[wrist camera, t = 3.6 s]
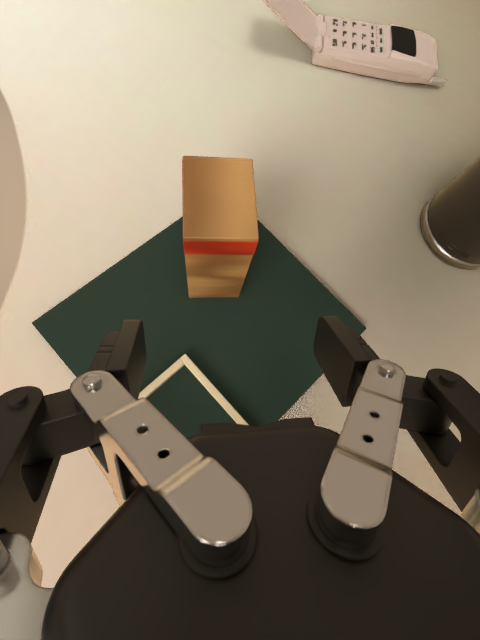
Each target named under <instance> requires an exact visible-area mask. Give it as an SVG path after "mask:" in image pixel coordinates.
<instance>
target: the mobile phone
mask: <svg viewBox="0 0 480 640" xmlns="http://www.w3.org/2000/svg"><path fill="white" fill-rule="evenodd" d="M262 1H263V2H264V3H265V4H266V5H267V6H268V7H269V8H270V9H271V10H272V11H273V12H274V13H275V14H276V15H277V16H278V17H279V18H280V19H281V20H282V21H283V22H284V23H285V24H286V25H287V26H288V27H289V28H290V29H291V30H292V31H293V32H294V33H295V34H296V35H298V36H299V37H300V38H301V39H302V40H303V41H304V42H305V43H306V44H307V45H308V46H309V47H310V48H311V49H312V63H313V64H314V65H318V66H323V67H327V68H332V69H336V70H341V71H346V72H350V73H355V74H360V75H365V76H370V77H375V78H381V79H386V80H391V81H396V82H404V83H423V84H428V85H438V86H444V84H445V83H446V79H444V78H441V77H437V76H434V75H435V73H436V72H437V70H438V58H437V47H436V40H435V39H434V38H433V37H432V36H429V35H427V34H425V33H423V32H420V31H417V30H414V29H411V28H408V27H404V26H399V25H394V24H389V25H388V26H384V25H379V24H373V23H367V22H361V21H355V20H350V19H344V18H338V17H333V16H327V15H325V16H323V14H319V15H318V16H316V15H315V14H314V13H313V12H312V11H311V9H310V8H309V7H308V6H307V5H306V4H305V3H304V2H303V1H302V0H262Z"/></svg>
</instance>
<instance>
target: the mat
mask: <svg viewBox="0 0 480 640" xmlns="http://www.w3.org/2000/svg"><path fill="white" fill-rule="evenodd" d="M257 223H258V235H259V239H258V244H257V247H256V250H255V253H254V255H253V257H252V260H251V263H250V266H249V269H248V271H247V274H246V277H245V280H244V283H243V286H242V289H241V292H240V295H239V297H214V298H189V294H188V284H187V273H186V262H185V254H184V247H183V217H182V218H180V219H179V220H177V221H176V222H174V223H173V224H172V225H170V226H169V227H167V228H166V229H165V230H163V231H162V232H160V233H159V234H157V235H156V236H155V237H153V238H152V239H150V240H149V241H147V242H146V243H145V244H143V245H142V246H140V247H139V248H138V249H136V250H135V251H133V252H132V253H130V254H129V255H128V256H126V257H125V258H123V259H122V260H120V261H119V262H118V263H116V264H115V265H113V266H112V267H110V268H109V269H108V270H106V271H105V272H103V273H102V274H101V275H99V276H98V277H96V278H95V279H93V280H92V281H91V282H89V283H88V284H86V285H85V286H83V287H82V288H81V289H79V290H78V291H76V292H75V293H74V294H72V295H71V296H69V297H68V298H66V299H65V300H64V301H62V302H61V303H59V304H58V305H56V306H55V307H54V308H52V309H51V310H49V311H48V312H47V313H45V314H44V315H42V316H41V317H39V318H38V319H37V320H35V321H34V322H32V324H33V325H34V326H35V328H36V329H37V330H38V331H39V332H40V334H41V335H42V336H43V337H44V338H45V340H46V341H47V342H48V343H49V344H50V346H51V347H52V348H53V349H54V350H55V352H56V353H57V354H58V355H59V357H60V358H61V359H62V360H63V361H64V363H65V364H66V365H67V366H68V367H69V369H70V370H71V371H72V372H73V373H74V375H75V376H76V377H79V376H80V375H82V374H84V373H87V372H88V370H89V368H90V366H91V364H92V361H93V359H94V357H95V355H96V353H97V351H98V348H99V347H100V344H101V342H102V340H103V338H104V337H105V336H106V335H108V334H109V333H110V332H112V331H120V328H121V326H122V323H123V321H124V320H142V321H143V328H144V336H145V345H146V365H145V369H144V374H143V379H142V383H141V388H140V393H139V397H138V399H140V398H142V397H144V398H146V399H147V400H148V401H149V402H150V403H151V404H152V405H153V406H154V407H155V408H156V409H157V410H158V411H159V412H160V413H161V414H162V415H163V416H164V417H165V418H166V419H167V420H168V421H169V422H170V423H171V424H172V425H173V426H174V427H175V428H176V429H177V430H178V431H179V432H180V433H181V434H182V435H183V436H184V437H185V438H186V439H187V438H189V437H191V436H194V435H197V434H200V433H201V424H214V423H236V424H243V425H250V426H263V425H266V424H270V423H273V422H276V421H278V420H279V419H280V418H281V417H282V416H283V415H284V414H285V413H286V411H287V410H288V409H289V408H290V407H291V406H292V405H293V404H294V403H295V402H296V401H297V400H298V399H299V398H300V397H301V396H302V395H303V394H304V393H305V392H306V391H307V390H308V389H309V388H310V387H311V385H312V384H313V383H314V382H315V381H316V380H317V379H318V378H319V377H320V376H321V375H322V374H323V371H322V369H321V367H320V366H319V364H318V362H317V360H316V358H315V356H314V351H313V345H314V340H315V334H316V329H317V324H318V319H319V318H320V317H321V316H337V317H338V318H339V319H340V320H341V322H342V323H343V324H344V325H345V326H348V327H350V328H352V329H353V330H355V331H357V332H358V334H359V335H360V334H361V333H362V332H363V331H364V330H365V329H366V327H365V326H364V325H363V324H362V323H361V322H360V321H359V320H358V319H357V318H356V317H355V316H354V315H353V314H352V313H351V312H350V311H349V310H348V309H347V308H346V307H345V306H344V305H343V304H342V303H341V302H340V301H339V300H338V299H337V298H336V297H335V296H334V295H333V294H332V293H331V292H330V291H329V290H328V289H327V288H326V287H325V286H324V285H323V284H322V283H321V282H320V281H319V280H318V279H317V278H316V277H315V276H314V275H313V274H312V273H311V272H310V271H309V270H308V269H307V268H306V267H305V266H304V265H302V264H301V263H300V262H299V261H298V260H297V259H296V258H295V257H294V256H293V255H292V254H291V253H290V252H289V251H288V250H287V249H286V248H285V247H284V246H283V245H282V244H281V243H280V242H279V241H278V240H277V239H276V238H275V237H274V236H273V235H272V234H271V233H270V232H269V231H268V230H267V229H266V228H265V227H264V226H263V225H262V224H261V223H260V222H259V221H258V220H257Z"/></svg>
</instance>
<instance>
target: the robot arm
mask: <svg viewBox="0 0 480 640" xmlns="http://www.w3.org/2000/svg"><path fill="white" fill-rule="evenodd" d="M420 225H421V230H422V234H423V236H424V238H425V240H426V242H427V244H428V245H429V247H430V248H431V249H432V250H433V252H434V253H435V254H436V255H438V256H439V257H440V258H441V259H443V260H444V261H446V262H447V263H449V264H451V265H453V266H456V267H459V268H463V269H479V268H480V156H479V157H478V158H477V159H475V160H474V161H473V162H472V163H471V164H470V165H469V166H468V167H467V168H466V169H465V170H463V171H462V172H461V173H460V174H459V175H458V176H457V177H456V178H455V179H453V180H452V181H451V182H450V183H449V184H448V185H447V186H446V187H445V188H444V189H443V190H442V191H440V192H439V193H437V194H436V195H435V196H434V197H432V198H431V199H430V200H429V201H428V202H427V203H426V205H425V206H424V208H423V210H422V212H421V217H420ZM313 351H314V356H315V358H316V360H317V362H318V364H319V366H320V367H321V369H322V371H323V373H324V374H325V376H326V378H327V380H328V382H329V383H330V385H331V387H332V389H333V390H334V392H335V394H336V396H337V398H338V399H339V401H340V403H341V405H342V406H343V407H347V406H351V408H350V410H349V413H348V415H347V418H346V421H345V423H344V426H343V429H342V431H341V434H338V433H336V432H334V431H332V430H329V429H326V428H323V427H319V426H315V425H314V422H313V420H312V418H311V417H308V418H292V419H283V420H280V421H276V422H273V423H270V424H266V425H263V426H250V425H243V424H236V423H214V424H201V433H200V434H197V435H194V436H191V437H189V438H187V439H186V438H185V437H184V436H183V435H182V434H181V433H180V432H179V431H178V430H177V429H176V428H175V427H174V426H173V425H172V424H171V423H170V422H169V421H168V420H167V419H166V418H165V417H164V416H163V415H162V414H161V413H160V412H159V411H158V410H157V409H156V408H155V407H154V406H153V405H152V404H151V403H150V402H149V401H148V400H147V399H146V398H144V397H142V398H140V399H138V397H139V393H140V388H141V383H142V379H143V374H144V369H145V365H146V345H145V336H144V328H143V321H142V320H124V321H123V323H122V326H121V328H120V331H112V332H110V333H109V334H108V335H106V336H105V337H104V338H103V340H102V342H101V344H100V347H99V348H98V351H97V353H96V355H95V357H94V359H93V361H92V364H91V366H90V368H89V370H88V372H87V373H84V374H82V375H80V376H79V377H77V378H76V379H75V380H74V381H73V382H72V383H71V386H70V389H68V390H65V391H62V392H58V393H54V394H50V395H46V396H43V393H42V391H41V390H40V389H39V388H37V387H32V386H26V387H20V388H16V389H13V390H10V391H8V392H6V393H4V394H3V395H1V396H0V640H480V394H479V393H478V392H477V391H476V390H475V389H474V388H473V387H472V386H471V385H470V384H469V383H468V382H467V381H466V380H465V379H464V378H462V377H461V376H459V375H458V374H456V373H454V372H451V371H448V370H444V369H431V370H429V371H428V373H427V375H426V378H420V377H414V376H408V375H406V373H405V371H404V370H403V369H402V368H401V367H400V366H399V365H397V364H395V363H393V362H390V361H387V360H382V359H380V358H379V357H378V356H377V355H376V353H375V352H374V351H373V350H372V349H371V348H370V346H369V345H367V343H366V342H365V341H364V339H362V337H361V336H360V335H359V334H358V332H357V331H355V330H353V329H352V328H350V327H348V326H345V325H344V324H343V323H342V322H341V320H340V319H339V318H338V317H337V316H321V317H320V318H319V319H318V324H317V329H316V334H315V340H314V345H313ZM452 422H453V423H454V424H455V426H456V427H457V428H458V429H459V431H460V434H461V443H460V441H459V440H458V439H457V438H456V436H455V435H454V434H453V433H452V432H451V430H450V429H449V426H450V425H451V423H452ZM399 428H402V429H407V430H408V432H409V434H410V435H411V437H412V438H413V440H414V441H415V443H416V444H417V446H418V447H419V449H420V450H421V452H422V453H423V455H424V456H425V458H426V459H427V461H428V462H429V464H430V465H431V467H432V468H433V470H434V471H435V473H436V474H437V476H438V477H439V479H440V480H441V482H442V483H443V485H444V486H445V488H446V489H447V491H448V492H449V494H450V495H451V497H452V498H453V500H454V501H455V503H456V504H457V506H458V507H459V509H460V510H461V512H462V513H461V517H460V516H459V515H457V514H456V513H455V512H453V511H452V510H450V509H449V508H447V507H446V506H444V505H443V504H441V503H440V502H439V501H437V500H436V499H434V498H433V497H431V496H430V495H428V494H427V493H425V492H424V491H422V490H421V489H420V488H418V487H417V486H415V485H414V484H412V483H411V482H409V481H408V480H406V479H405V478H404V477H402V476H401V475H399V474H398V473H396V472H395V471H393V470H392V465H393V459H394V454H395V448H396V442H397V437H398V431H399ZM83 448H87V450H88V451H89V453H90V454H91V456H92V457H93V459H94V460H95V462H96V463H97V465H98V466H99V468H100V469H101V471H102V472H103V474H104V475H105V477H106V478H107V480H108V481H109V483H110V485H111V487H112V490H113V492H114V495H115V497H116V499H117V501H118V503H119V505H120V507H119V508H118V510H117V511H116V512H115V513H114V514H113V515H112V516H111V517H110V518H109V520H108V521H107V522H106V523H105V524H104V525H103V526H102V527H101V528H100V530H99V531H98V532H97V533H96V534H95V535H94V536H93V537H92V538H91V540H90V541H89V542H88V543H87V544H86V545H85V546H84V547H83V548H82V550H81V551H80V552H79V553H78V554H77V555H76V556H75V557H74V559H73V560H72V561H71V562H70V563H69V565H68V566H67V567H66V569H65V570H64V571H63V573H62V575H61V576H60V578H59V580H58V581H57V583H56V585H55V587H54V588H44V587H41V581H42V575H43V574H42V566H41V564H40V562H39V560H38V558H37V556H36V554H35V552H34V550H33V548H32V546H31V542H32V539H33V536H34V533H35V530H36V527H37V524H38V521H39V519H40V516H41V513H42V510H43V507H44V504H45V501H46V498H47V495H48V493H49V490H50V487H51V484H52V481H53V478H54V475H55V472H56V469H57V467H58V464H59V461H60V458H61V455H64V454H68V453H71V452H74V451H77V450H80V449H83Z"/></svg>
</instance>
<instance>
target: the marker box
mask: <svg viewBox="0 0 480 640" xmlns="http://www.w3.org/2000/svg"><path fill="white" fill-rule="evenodd" d="M182 188H183V247H184V254H185V262H186V273H187V284H188V294H189V298H214V297H239V295H240V292H241V289H242V286H243V283H244V280H245V277H246V274H247V271H248V269H249V266H250V263H251V260H252V257H253V255H254V253H255V250H256V247H257V244H258V239H259V235H258V223H257V210H256V198H255V185H254V172H253V160H252V159H241V158H220V157H199V156H183V160H182Z"/></svg>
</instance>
